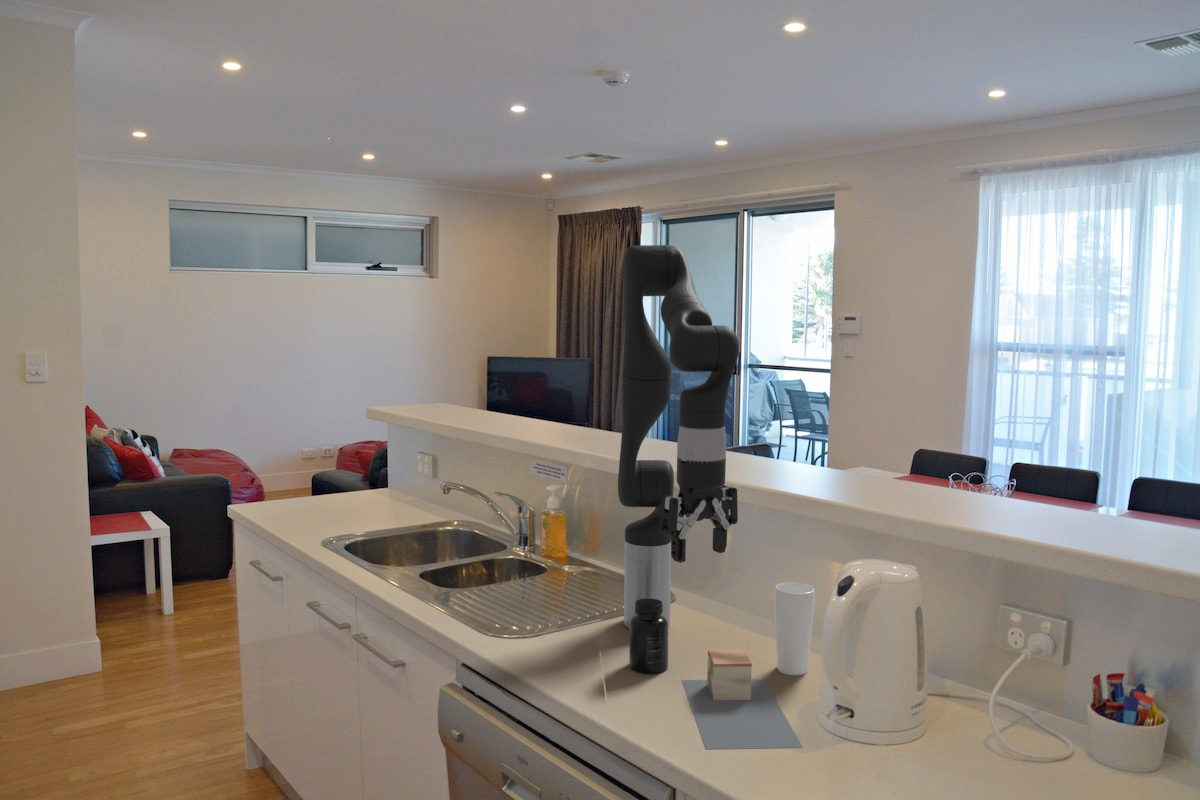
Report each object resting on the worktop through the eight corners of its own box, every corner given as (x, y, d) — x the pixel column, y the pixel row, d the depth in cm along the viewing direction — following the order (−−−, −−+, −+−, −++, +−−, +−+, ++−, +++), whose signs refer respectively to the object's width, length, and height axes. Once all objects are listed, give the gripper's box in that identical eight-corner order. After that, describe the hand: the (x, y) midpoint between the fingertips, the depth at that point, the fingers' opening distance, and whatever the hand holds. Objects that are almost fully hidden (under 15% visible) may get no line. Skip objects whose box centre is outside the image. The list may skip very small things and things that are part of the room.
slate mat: (681, 682, 150) (681, 680, 150) (763, 681, 151) (763, 679, 151) (705, 751, 126) (705, 749, 126) (802, 750, 127) (803, 747, 127)
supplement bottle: (671, 663, 158) (672, 598, 157) (663, 678, 152) (664, 610, 150) (633, 659, 160) (634, 594, 159) (624, 674, 153) (625, 606, 152)
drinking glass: (765, 666, 157) (767, 584, 156) (798, 661, 159) (800, 580, 158) (786, 681, 151) (788, 595, 149) (820, 676, 153) (822, 591, 152)
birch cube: (707, 684, 148) (707, 649, 148) (742, 684, 149) (743, 649, 148) (713, 700, 142) (714, 663, 142) (750, 699, 143) (751, 663, 142)
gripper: (717, 446, 145) (715, 543, 147) (650, 455, 136) (648, 558, 138) (751, 453, 139) (748, 554, 141) (683, 463, 130) (681, 570, 132)
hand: (699, 556), depth 139 cm, fingers open, 8 cm apart
